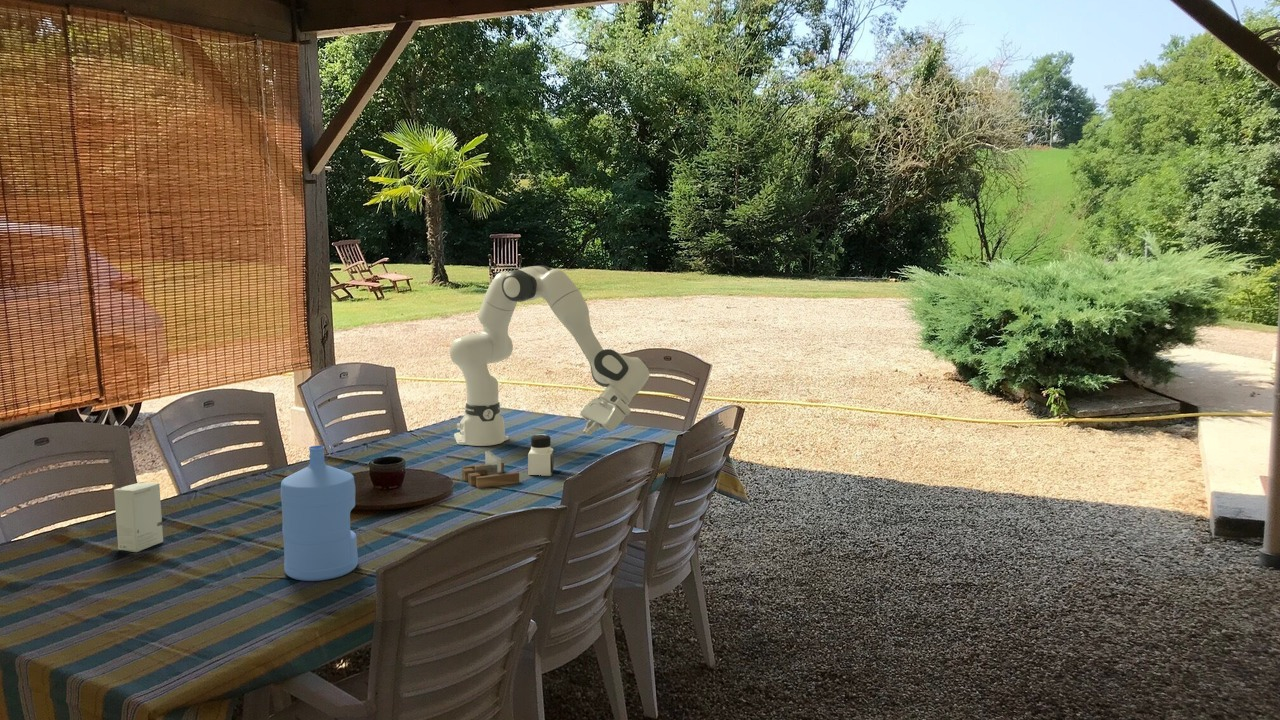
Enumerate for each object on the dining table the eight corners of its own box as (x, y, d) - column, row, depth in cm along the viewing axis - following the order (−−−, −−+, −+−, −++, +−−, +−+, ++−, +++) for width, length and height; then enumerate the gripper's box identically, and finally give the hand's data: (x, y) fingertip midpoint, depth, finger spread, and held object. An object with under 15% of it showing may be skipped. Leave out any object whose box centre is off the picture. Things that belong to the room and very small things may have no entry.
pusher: (469, 474, 281) (469, 452, 280) (489, 472, 284) (488, 450, 283) (481, 484, 271) (481, 461, 270) (501, 481, 274) (501, 458, 273)
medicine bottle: (551, 476, 282) (550, 438, 281) (528, 475, 283) (527, 438, 281) (553, 470, 289) (553, 433, 288) (531, 469, 290) (530, 432, 288)
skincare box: (136, 553, 214) (132, 491, 212) (116, 550, 215) (111, 489, 213) (165, 541, 222) (160, 482, 219) (145, 538, 223) (141, 480, 221)
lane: (459, 476, 281) (459, 466, 281) (502, 470, 288) (502, 461, 288) (474, 488, 268) (474, 478, 268) (519, 482, 275) (519, 473, 274)
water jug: (316, 588, 194) (310, 459, 190) (269, 572, 202) (262, 449, 198) (373, 565, 207) (368, 445, 203) (326, 552, 215) (321, 436, 211)
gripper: (593, 389, 302) (566, 421, 299) (621, 400, 285) (592, 434, 281) (605, 401, 305) (578, 433, 302) (633, 413, 287) (605, 446, 284)
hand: (585, 433), depth 292 cm, fingers closed
